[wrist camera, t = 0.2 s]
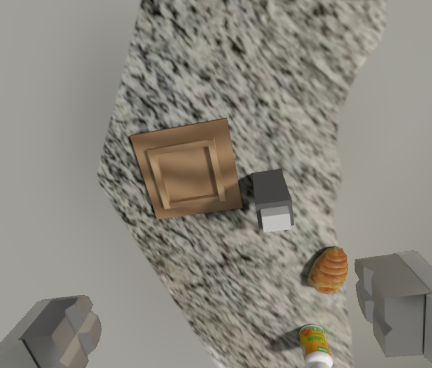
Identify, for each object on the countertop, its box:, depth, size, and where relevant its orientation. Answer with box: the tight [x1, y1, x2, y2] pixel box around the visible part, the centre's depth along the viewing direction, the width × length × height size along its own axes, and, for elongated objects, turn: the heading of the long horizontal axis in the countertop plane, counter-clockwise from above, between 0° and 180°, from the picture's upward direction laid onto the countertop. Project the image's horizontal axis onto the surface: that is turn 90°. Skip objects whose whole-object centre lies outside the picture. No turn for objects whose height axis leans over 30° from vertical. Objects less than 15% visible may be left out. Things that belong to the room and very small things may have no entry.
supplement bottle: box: [299, 325, 333, 368], centre depth 59 cm, size 5×5×10 cm
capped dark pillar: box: [252, 169, 294, 232], centre depth 43 cm, size 4×5×13 cm
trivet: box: [130, 118, 243, 219], centre depth 49 cm, size 16×16×2 cm
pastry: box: [307, 247, 348, 294], centre depth 54 cm, size 9×7×4 cm
